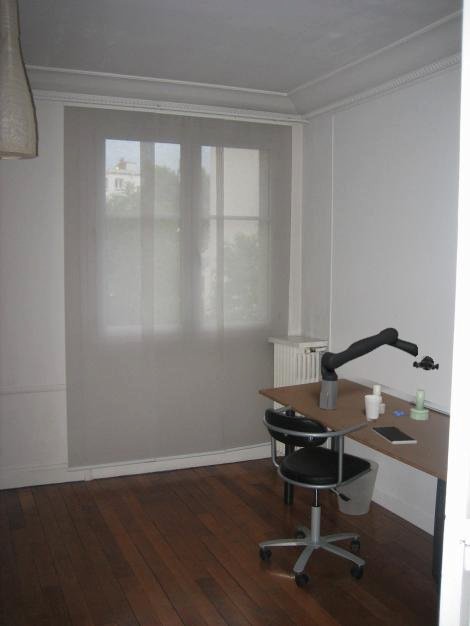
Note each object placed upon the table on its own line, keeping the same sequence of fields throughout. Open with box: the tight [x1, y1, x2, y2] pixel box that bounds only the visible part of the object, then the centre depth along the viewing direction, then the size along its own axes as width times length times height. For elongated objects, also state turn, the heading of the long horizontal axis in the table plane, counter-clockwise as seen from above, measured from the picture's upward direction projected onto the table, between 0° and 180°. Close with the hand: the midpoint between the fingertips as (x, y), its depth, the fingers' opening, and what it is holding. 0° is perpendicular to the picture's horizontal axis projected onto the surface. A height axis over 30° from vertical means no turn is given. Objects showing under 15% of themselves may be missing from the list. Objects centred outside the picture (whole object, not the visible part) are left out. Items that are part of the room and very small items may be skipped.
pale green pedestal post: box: [409, 389, 430, 421], centre depth 363 cm, size 10×10×17 cm
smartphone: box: [370, 426, 418, 445], centre depth 333 cm, size 13×27×2 cm, turn 12°
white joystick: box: [372, 383, 386, 415], centre depth 374 cm, size 10×10×17 cm
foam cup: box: [364, 394, 383, 422], centre depth 362 cm, size 10×9×13 cm
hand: (424, 367), depth 371 cm, fingers open, 8 cm apart
